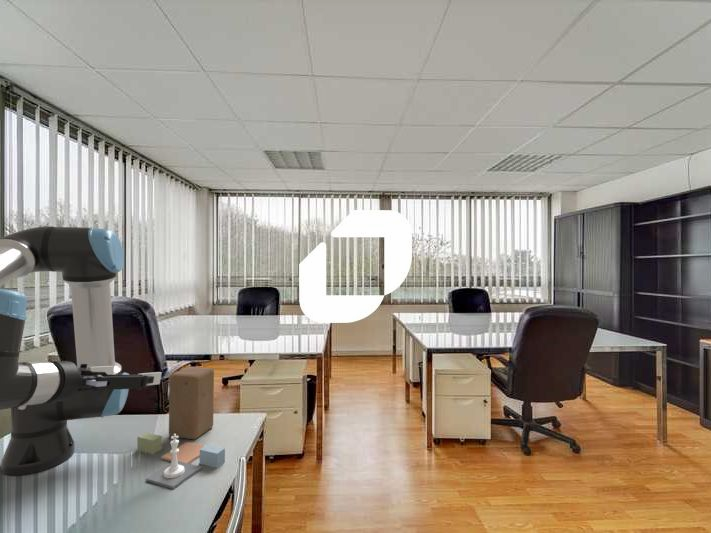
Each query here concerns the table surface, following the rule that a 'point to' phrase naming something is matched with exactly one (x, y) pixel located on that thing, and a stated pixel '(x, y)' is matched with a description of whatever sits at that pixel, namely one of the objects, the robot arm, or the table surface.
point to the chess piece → (174, 461)
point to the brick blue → (212, 456)
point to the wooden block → (191, 402)
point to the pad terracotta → (185, 453)
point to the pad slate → (176, 481)
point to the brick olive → (149, 443)
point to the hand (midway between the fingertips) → (135, 374)
